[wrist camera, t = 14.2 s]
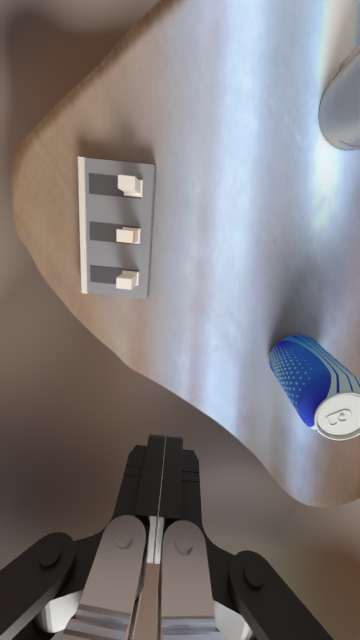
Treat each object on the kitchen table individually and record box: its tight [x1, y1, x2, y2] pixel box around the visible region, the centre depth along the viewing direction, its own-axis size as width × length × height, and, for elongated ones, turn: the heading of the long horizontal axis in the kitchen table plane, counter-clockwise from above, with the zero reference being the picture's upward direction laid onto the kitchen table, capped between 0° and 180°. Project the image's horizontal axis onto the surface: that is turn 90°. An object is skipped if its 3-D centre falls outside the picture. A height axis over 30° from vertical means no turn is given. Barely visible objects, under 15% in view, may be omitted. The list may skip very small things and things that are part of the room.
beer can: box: [269, 335, 360, 440], centre depth 38 cm, size 8×8×16 cm
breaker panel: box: [77, 157, 156, 299], centre depth 36 cm, size 18×10×7 cm, turn 175°
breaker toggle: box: [116, 227, 141, 244], centre depth 35 cm, size 2×2×5 cm
